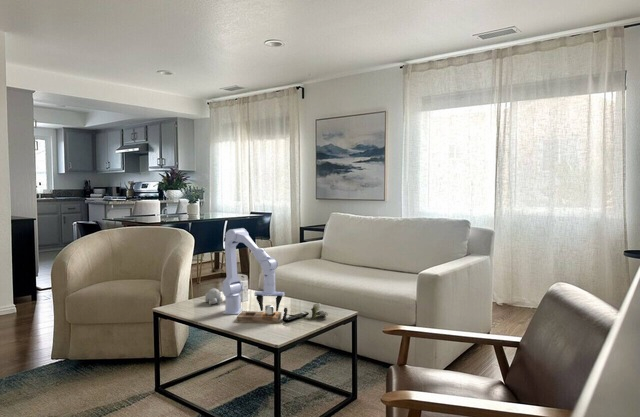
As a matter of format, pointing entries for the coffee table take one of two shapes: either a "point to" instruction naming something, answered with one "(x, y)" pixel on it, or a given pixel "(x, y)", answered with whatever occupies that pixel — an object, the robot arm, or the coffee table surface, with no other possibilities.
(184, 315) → the coffee table surface
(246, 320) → the wooden board with recesses
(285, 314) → the artificial flower
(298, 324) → the coffee table surface
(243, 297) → the ink cartridge box
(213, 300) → the round bodied animal figurine
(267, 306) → the steel peg
